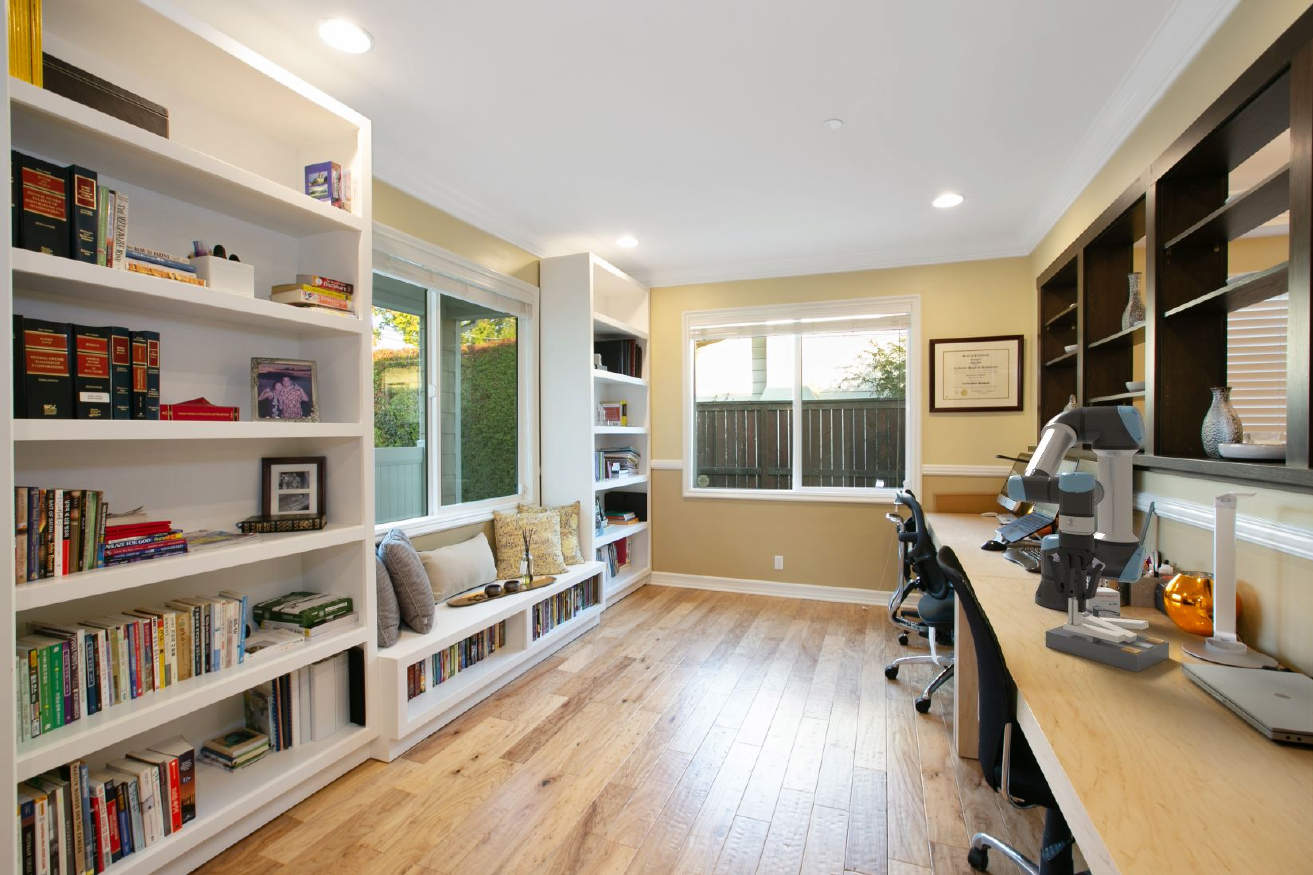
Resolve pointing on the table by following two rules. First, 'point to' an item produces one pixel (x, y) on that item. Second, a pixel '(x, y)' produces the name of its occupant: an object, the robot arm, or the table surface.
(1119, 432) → the robot arm
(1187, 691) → the table surface
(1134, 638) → the rocker
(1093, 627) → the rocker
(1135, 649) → the gray compartment tray
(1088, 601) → the ink box
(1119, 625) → the rocker
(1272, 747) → the table surface
